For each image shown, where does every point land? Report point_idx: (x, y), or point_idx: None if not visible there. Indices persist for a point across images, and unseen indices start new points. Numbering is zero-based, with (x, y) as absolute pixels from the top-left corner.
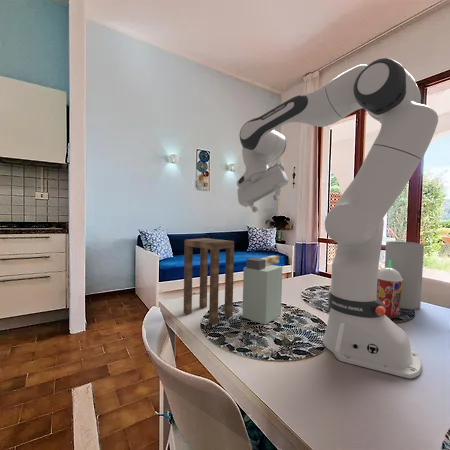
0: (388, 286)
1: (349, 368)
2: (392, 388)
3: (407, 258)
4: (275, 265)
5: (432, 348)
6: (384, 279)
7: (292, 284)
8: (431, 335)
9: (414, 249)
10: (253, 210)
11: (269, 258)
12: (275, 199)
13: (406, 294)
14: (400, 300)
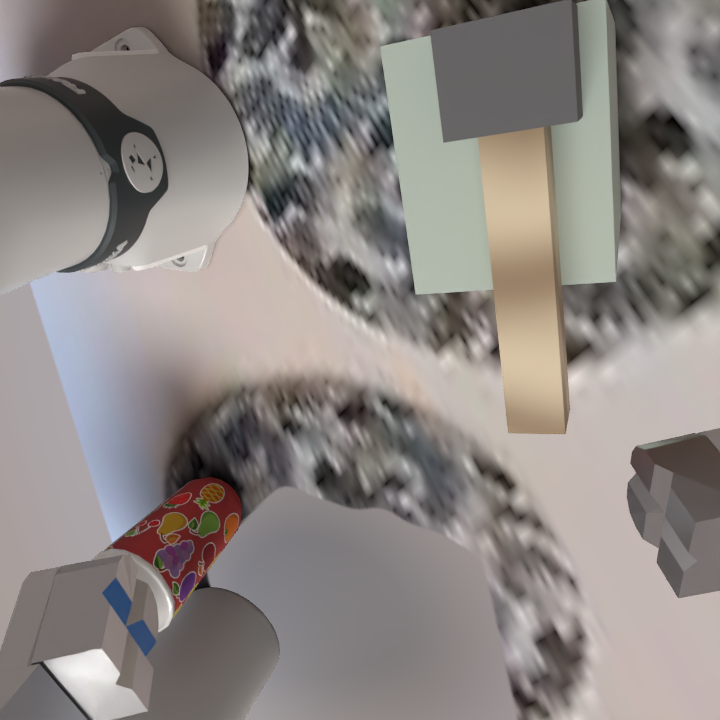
0: (130, 535)
1: (111, 11)
2: (22, 12)
3: None
4: (469, 288)
5: (64, 325)
6: (124, 553)
7: (689, 684)
8: (95, 414)
9: None
10: (697, 434)
11: (493, 269)
12: (94, 562)
13: (172, 623)
14: (201, 605)
